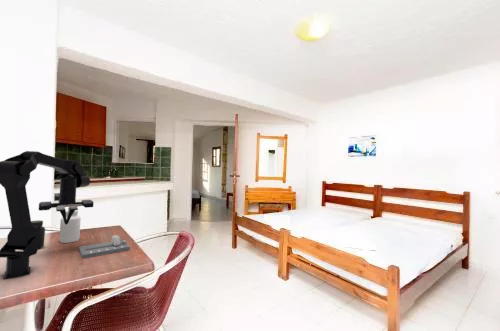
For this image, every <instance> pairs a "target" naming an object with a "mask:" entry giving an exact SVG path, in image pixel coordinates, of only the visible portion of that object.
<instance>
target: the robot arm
mask: <svg viewBox="0 0 500 331" xmlns="http://www.w3.org/2000/svg"><path fill="white" fill-rule="evenodd" d="M38 165H40V166H44V167H49V168H53V169H54V170H55V171H56V172H58V173H60V174H59V175H57V176H56V179H57V180H59V192H57V193H54V194H53V195H54V196H53V201H54V203H53V202H52V201H51V200H50V201H39V203H38V211H50V210H51V209H52V208H55V211H56V212H59V213H60V214H61V218H62V217H63V220H64V223H65V225H66V224H68V222H69V220H70V218H71V216H72V214H73V213H74V211H75V210H79V208H78V207H84V208H94V201H93V200H92V199H82V200H81V201H76V199H77V198H76V197H77V189H78V188H86V187H88V186H89V185H90V184H91V178H90V177H89V176H88V175H87V172H84V169H83V168H82V166H81V164H80V161H78V160H69V159H68V160H67V159H63V158H58V157H55V156H51V155H48V154H45V153H42V152H40V151H35V150H33V151H30V150H25V151H23V152H21V153H20V154H18V155H14V156H12V157H9V158H6V159H5V160H1V161H0V185H1V186H2V187H3V189H4V191H5V197H6V201H7V206H8V213H9V214H8V215H9V218H10V224H11V228H10V230H9V232H8V234H7V235H6V236H7V239H6V242H5V244H4V245H3V246H2V247H1V248H0V258H6V264H5V265H6V266H5V271H4V274H3V280H5V279H11V278H15V277H16V278H17V277H21V276H25V275H26V276H27V275H30V274H31V266H30V259H31V258H30V257H32V256H35V255H36V254H37V253H38V250H39V249H38V247H39V245H40V242H41V237H42V235H41V229H40V227H39V226H33V225H32V223H31V221H32V218H31V214H30V213H31V212H30V206H29V199H28V194H27V188H26V186H27V184H28V182H29V181H30V179H31V172H33V171H35V170H36V169H37V167H38ZM66 207H67V209H66ZM67 210H68V214H67V219H66V211H67ZM17 250H18V251H17Z"/></svg>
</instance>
